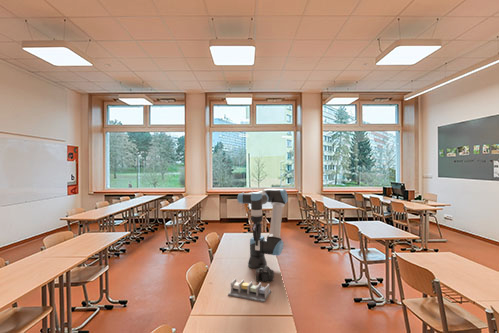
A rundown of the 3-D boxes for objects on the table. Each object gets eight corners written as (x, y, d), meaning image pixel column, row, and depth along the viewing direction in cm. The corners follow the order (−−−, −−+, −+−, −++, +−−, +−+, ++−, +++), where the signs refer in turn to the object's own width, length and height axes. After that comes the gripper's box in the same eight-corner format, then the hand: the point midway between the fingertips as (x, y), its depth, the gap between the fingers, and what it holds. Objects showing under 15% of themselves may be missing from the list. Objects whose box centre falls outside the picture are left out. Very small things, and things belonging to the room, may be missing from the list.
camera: (257, 284, 176) (256, 270, 176) (254, 278, 186) (254, 264, 186) (276, 282, 178) (275, 268, 178) (272, 276, 188) (272, 263, 188)
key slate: (261, 289, 163) (261, 286, 163) (267, 291, 162) (267, 287, 162) (259, 292, 160) (259, 289, 160) (265, 294, 158) (265, 290, 158)
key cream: (235, 285, 170) (235, 282, 170) (241, 286, 168) (241, 283, 168) (233, 288, 166) (233, 284, 166) (238, 289, 165) (238, 285, 165)
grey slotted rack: (237, 285, 175) (237, 276, 175) (271, 291, 166) (271, 281, 166) (228, 295, 162) (228, 285, 162) (264, 302, 153) (264, 291, 153)
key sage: (252, 288, 165) (252, 285, 165) (258, 289, 164) (258, 286, 164) (250, 291, 162) (250, 287, 162) (256, 292, 160) (256, 288, 160)
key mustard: (243, 285, 168) (243, 282, 168) (249, 286, 166) (249, 283, 166) (241, 288, 164) (241, 285, 164) (247, 289, 163) (247, 286, 162)
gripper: (254, 213, 182) (255, 246, 182) (248, 217, 169) (248, 252, 170) (265, 213, 179) (265, 247, 179) (258, 217, 167) (259, 253, 167)
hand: (257, 249), depth 174 cm, fingers closed
